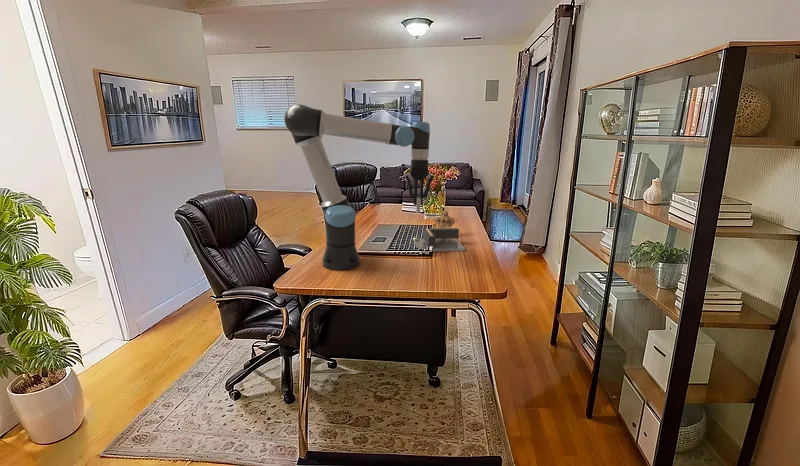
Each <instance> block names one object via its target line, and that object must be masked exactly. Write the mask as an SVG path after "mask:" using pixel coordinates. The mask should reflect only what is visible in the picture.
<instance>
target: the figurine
mask: <svg viewBox="0 0 800 466" xmlns="http://www.w3.org/2000/svg"><path fill="white" fill-rule="evenodd" d="M434 222H435V223H436V224H437V225H436V226H435V227H434V228H452V226H453V225H454V224H455V222H456V220H455V218H454V217H452V216H449V212H448V211H447V210H443V212H442V215H439V216H436V217H435V219H434Z"/></svg>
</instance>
